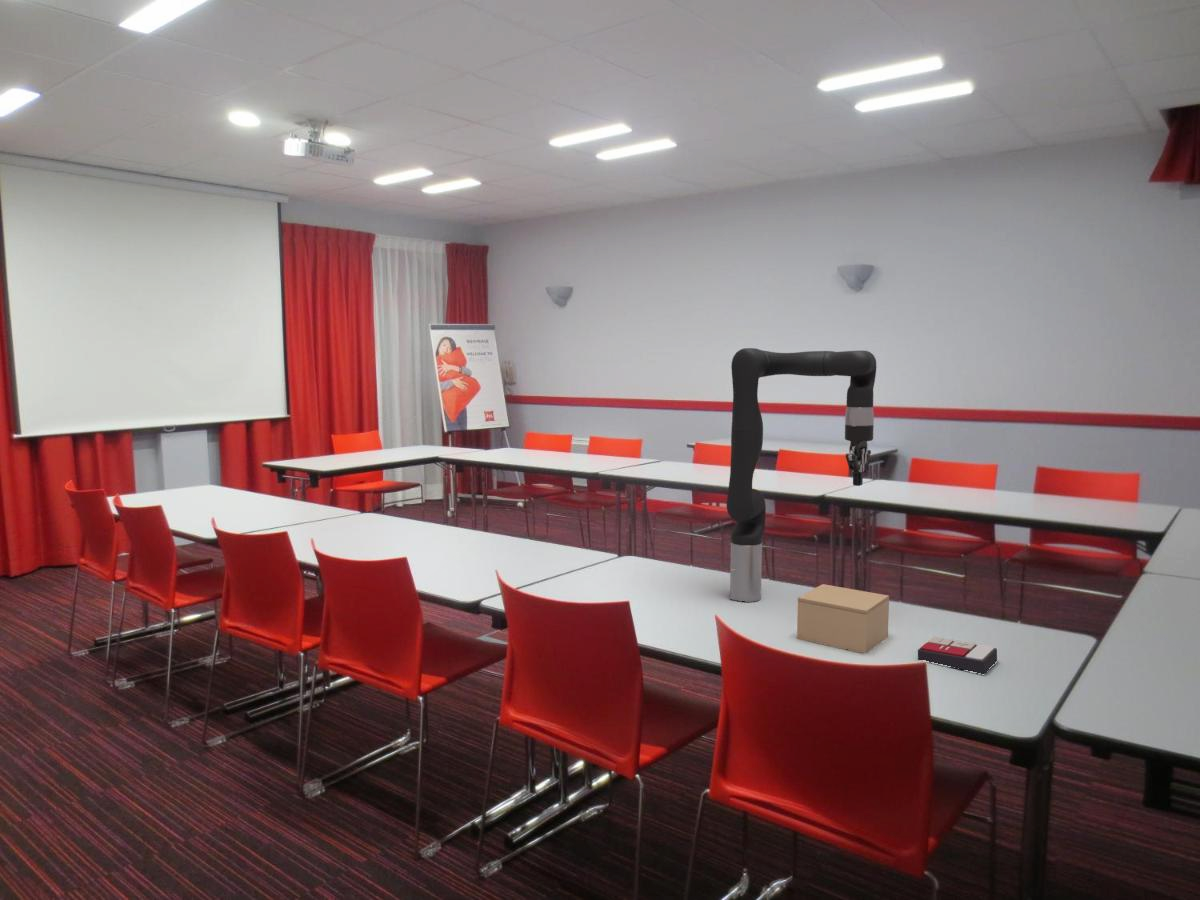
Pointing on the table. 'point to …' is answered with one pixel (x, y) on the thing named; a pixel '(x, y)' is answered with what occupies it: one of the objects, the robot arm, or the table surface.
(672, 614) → the table surface
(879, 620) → the box
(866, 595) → the lid
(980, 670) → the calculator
